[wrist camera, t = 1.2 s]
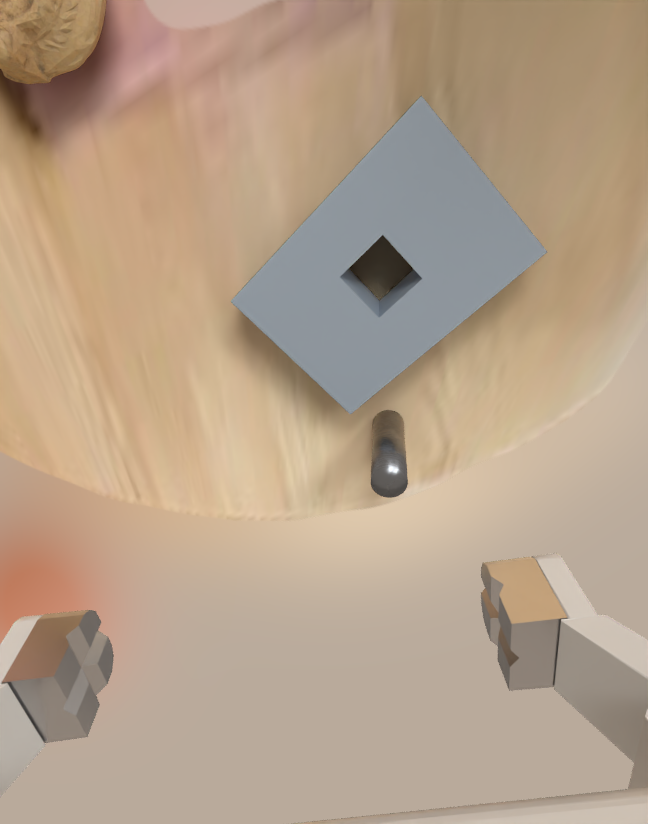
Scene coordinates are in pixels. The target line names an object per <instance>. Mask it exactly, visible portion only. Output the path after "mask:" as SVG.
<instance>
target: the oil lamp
mask: <svg viewBox="0 0 648 824" xmlns="http://www.w3.org/2000/svg"><path fill="white" fill-rule="evenodd" d="M105 10H106V0H0V69H1V70H2V71H3V74H4V76H5V77H6V78H8V79H10V80H13V81H16V82H21V83H25V84H34V83H49V82H51V79H52V78H53V77H55V76H58V75H61V74H64V73H67V72H70V71H73V70H76V69H77V68H79V67H80V66H81V65H83V64H84V62H85V61H86V59H87V58H88V57H89V56H90V55H91V54H92V52H93V51H94V49H95V47H96V45H97V42H98V40H99V37H100V34H101V31H102V27H103V22H104V17H105Z"/></svg>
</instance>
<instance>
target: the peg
mask: <svg viewBox="0 0 648 824" xmlns="http://www.w3.org/2000/svg"><path fill="white" fill-rule="evenodd" d="M407 484H408V480H407V465H406V451H405V437H404V422H403V419H402V417H401V416H400V415H399V414H398V413H397V412H395V411H391V410H386V411H382V412H380V413H378V414H377V415H376V416H375V418H374V421H373V439H372V466H371V486H372V488H373V490H374V491H375V492H376V493H377V494H379V495H381V496H383V497H396V496H398V495H400V494H402V493H403V492H404V491H405V490H406V488H407Z"/></svg>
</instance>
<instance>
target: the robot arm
mask: <svg viewBox="0 0 648 824" xmlns="http://www.w3.org/2000/svg"><path fill="white" fill-rule="evenodd" d="M481 578H482V580H483V583H484V585H485V589H484V590H483V592H482V593H481V602H482V603H481V604H482V612H483V618H484V622H485V626H486V629H487V632H488V635H489V638H490V640H491V641H492V642H493V643H494V644H496V645H497V646H498V662H499V665H500V667H501V670H502V673H503V675H504V678H505V681H506V683H507V686H508V688H509V690H522V689H535V688H547V687H554V690H555V691H557V692H558V693H559V694H560V695H561V696H562V697H563V698H564V699H565V700H566V701H567V702H569V703H570V704H571V705H572V706H573V707H574V708H575V709H576V710H577V711H578V712H579V713H581V714H582V715H583V716H584V717H585V718H586V719H587V720H588V721H589V722H590V723H591V724H593V725H594V726H595V727H596V728H597V729H598V730H599V731H600V732H601V733H602V734H604V736H606V737H607V738H608V739H609V740H610V741H611V742H612V743H613V744H615V746H617V747H618V748H619V749H620V750H621V751H622V752H623V753H624V754H625V755H626V756H627V757H628V758H629V759H631V760H632V761H633V762H634V766H633V770H632V774H631V779H630V783H629V787H628V789H625V790H615V791H605V792H595V793H585V794H576V795H566V796H556V797H546V798H537V799H528V800H517V801H507V802H497V803H488V804H479V805H470V806H458V807H449V808H439V809H430V810H419V811H410V812H400V813H390V814H380V815H371V816H362V817H351V818H341V819H332V820H322V821H312V822H304V823H293V824H648V640H647V639H645V638H644V637H642V636H640V635H639V634H637V633H635V632H634V631H632V630H631V629H629V628H627V627H626V626H624V625H622V624H621V623H619V622H617V621H616V620H614V619H612V618H611V617H609V616H607V615H598V614H597V613H596V611H595V609H594V608H593V606H592V605H591V603H590V602H589V600H588V598H587V597H586V595H585V594H584V592H583V590H582V589H581V587H580V586H579V584H578V582H577V581H576V580H575V578H574V576H573V574H572V573H571V571H570V570H569V569H568V567H567V565H566V563H565V562H564V560H563V559H562V557H561V556H560V555H558V554H557V553H553V554H546V555H539V556H532V557H524V558H516V559H508V560H500V561H493V562H485V563H483V564H482V567H481ZM100 624H101V620H100V619H99V617H98V615H97V613H96V611H92V610H85V611H74V612H63V613H53V614H45V615H36V616H26V617H21V618H20V619H18V620H17V621H15V622H14V624H13V625H12V627H11V629H10V630H9V632H8V633H7V635H6V636H5V638H4V639H3V641H2V643H1V644H0V797H1V796H2V795H3V793H4V792H5V791H6V790H7V789H8V788H9V787H10V786H11V784H12V783H13V782H14V781H15V780H16V779H17V778H18V776H19V775H20V774H21V773H22V772H23V771H24V769H25V768H26V767H27V766H28V765H29V764H30V763H31V761H32V760H33V759H34V758H35V757H36V756H37V755H38V753H39V752H40V751H41V750H42V749H43V748H44V747H45V743H48V742H54V741H62V740H69V739H76V738H83V737H87V736H88V734H89V731H90V729H91V726H92V723H93V721H94V718H95V715H96V713H97V710H98V708H99V702H98V699H97V696H96V695H97V694H98V693H99V692H100V691H101V690H102V689H103V688H104V687H105V686H106V685H107V684H108V681H109V678H110V675H111V672H112V666H113V650H112V645H111V643H110V640H109V638H108V637H107V636H106V635H104V634H103V633H101V632H99V631H98V628H99V626H100Z"/></svg>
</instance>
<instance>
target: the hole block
mask: <svg viewBox="0 0 648 824" xmlns="http://www.w3.org/2000/svg"><path fill="white" fill-rule="evenodd" d="M382 235H383V236H384V237H385V238H386V239H387V240H388V241H389V242H390V243H391V245H392V246H393V247H394V248H395V249H396V250H397V251H398V252H399V253H400V254H401V256H402V257H403V258H404V259H405V260H406V261H407V262H408V263H409V264H410V265H411V267H412V268H413V270H412V271H411V272H410V273H409V274H408V275H407V276H406V277H405V278H404V279H402V280H401V281H400V282H399V283H398V284H397V285H396V286H395V287H394V288H393V289H392V290H390V291H389V292H388V293H387V294H386V295H385V296H384V297H383V298H382V299H381V300H380V301H379V300H378V299H377V298H376V296H375V295H374V294H373V293H372V292H371V291H370V290H369V289H368V288H367V287H366V286H365V285H364V284H363V283H362V282H361V281H360V280H359V279H358V278H357V277H356V276H355V274H354V273H353V272H352V271H351V270H350V269H349V268H350V267H351V266H352V265H353V264H354V263H355V262H356V261H357V260H358V259H359V258H360V257H361V256H362V255H363V254H364V253H365V252H366V251H367V250H368V249H369V248H370V247H371V246H372V245H373V244H374V243H375V242H376V241H377V240H378V239H379V238H380V237H381V236H382ZM546 253H547V251H546V250H545V248H544V247H543V246H542V245H541V243H540V242H539V241H538V240H537V238H536V237H535V236H534V235H533V233H532V232H531V231H530V230H529V228H528V227H527V226H526V225H525V224H524V222H523V221H522V220H521V219H520V217H519V216H518V215H517V214H516V212H515V211H514V210H513V209H512V207H511V206H510V205H509V204H508V202H507V201H506V200H505V199H504V197H503V196H502V195H501V194H500V193H499V191H498V190H497V189H496V188H495V186H494V185H493V184H492V183H491V181H490V180H489V179H488V178H487V176H486V175H485V174H484V173H483V171H482V170H481V169H480V168H479V166H478V165H477V164H476V163H475V162H474V160H473V159H472V158H471V157H470V155H469V154H468V153H467V152H466V150H465V149H464V148H463V147H462V145H461V144H460V143H459V142H458V140H457V139H456V138H455V137H454V136H453V134H452V133H451V132H450V131H449V129H448V128H447V127H446V126H445V124H444V123H443V122H442V121H441V119H440V118H439V117H438V116H437V114H436V113H435V112H434V111H433V109H432V108H431V107H430V106H429V105H428V103H427V102H426V101H425V100H424V98H423V97H422V96H421V97H420V98H419V99H418V100H417V101H416V102H415V103H414V104H413V105H412V106H411V107H410V108H409V109H408V111H407V112H406V113H405V114H404V115H403V116H402V117H401V118H400V119H399V120H398V121H397V122H396V123H395V125H394V126H393V127H392V128H391V129H390V130H389V131H388V132H387V133H386V134H385V135H384V136H383V137H382V139H381V140H380V141H379V142H378V143H377V144H376V145H375V146H374V147H373V148H372V149H371V150H370V152H369V153H368V154H367V155H366V156H365V157H364V158H363V159H362V160H361V161H360V162H359V163H358V164H357V166H356V167H355V168H354V169H353V170H352V171H351V172H350V173H349V174H348V175H347V176H346V177H345V178H344V180H343V181H342V182H341V183H340V184H339V185H338V186H337V187H336V188H335V189H334V190H333V191H332V193H331V194H330V195H329V196H328V197H327V198H326V199H325V200H324V201H323V202H322V203H321V204H320V205H319V207H318V208H317V209H316V210H315V211H314V212H313V213H312V214H311V215H310V216H309V217H308V218H307V219H306V221H305V222H304V223H303V224H302V225H301V226H300V227H299V228H298V229H297V230H296V231H295V232H294V233H293V235H292V236H291V237H290V238H289V239H288V240H287V241H286V242H285V243H284V244H283V245H282V246H281V248H280V249H279V250H278V251H277V252H276V253H275V254H274V255H273V256H272V257H271V258H270V259H269V260H268V262H267V263H266V264H265V265H264V266H263V267H262V268H261V269H260V270H259V271H258V272H257V273H256V274H255V276H254V277H253V278H252V279H251V280H250V281H249V282H248V283H247V284H246V285H245V286H244V287H243V289H242V290H241V291H240V292H239V293H238V294H237V295H236V296H235V297H234V298H233V299H232V300H231V302H232V303H233V304H234V305H235V306H236V307H237V308H238V309H239V310H240V311H241V312H242V313H243V314H244V315H245V316H246V317H248V318H249V319H250V320H251V321H252V322H253V323H254V324H255V325H256V326H257V327H258V328H259V329H260V330H261V331H262V332H263V333H265V334H266V335H267V336H268V337H269V338H270V339H271V340H272V341H273V342H274V343H275V344H276V345H277V346H278V347H279V348H280V349H282V350H283V351H284V352H285V353H286V354H287V355H288V356H289V357H290V358H291V359H292V360H293V361H294V362H295V363H296V364H297V365H298V366H300V367H301V368H302V369H303V370H304V371H305V372H306V373H307V374H308V375H309V376H310V377H311V378H312V379H313V380H314V381H315V382H317V383H318V384H319V385H320V386H321V387H322V388H323V389H324V390H325V391H326V392H327V393H328V394H329V395H330V396H331V397H332V398H333V399H335V400H336V401H337V402H338V403H339V404H340V405H341V406H342V407H343V408H344V409H345V410H346V411H347V412H348V413H349V414H352V413H353V412H354V411H355V410H356V409H358V408H359V407H360V406H361V405H362V404H364V403H365V402H366V401H367V400H369V399H370V398H371V397H372V396H373V395H375V394H376V393H377V392H378V391H379V390H381V389H382V388H383V387H384V386H386V385H387V384H388V383H389V382H390V381H392V380H393V379H394V378H395V377H396V376H398V375H399V374H400V373H401V372H403V371H404V370H405V369H406V368H407V367H409V366H410V365H411V364H412V363H413V362H415V361H416V360H417V359H418V358H419V357H421V356H422V355H423V354H424V353H426V352H427V351H428V350H429V349H430V348H432V347H433V346H434V345H435V344H436V343H438V342H439V341H440V340H441V339H443V338H444V337H445V336H446V335H447V334H449V333H450V332H451V331H452V330H453V329H455V328H456V327H457V326H458V325H459V324H461V323H462V322H463V321H464V320H466V319H467V318H468V317H469V316H470V315H472V314H473V313H474V312H475V311H476V310H478V309H479V308H480V307H481V306H483V305H484V304H485V303H486V302H487V301H489V300H490V299H491V298H492V297H493V296H495V295H496V294H497V293H498V292H499V291H501V290H502V289H503V288H504V287H506V286H507V285H508V284H509V283H510V282H512V281H513V280H514V279H515V278H516V277H518V276H519V275H520V274H521V273H523V272H524V271H525V270H526V269H527V268H529V267H530V266H531V265H532V264H533V263H535V262H536V261H537V260H538V259H539V258H541V257H542V256H543V255H544V254H546Z"/></svg>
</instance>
